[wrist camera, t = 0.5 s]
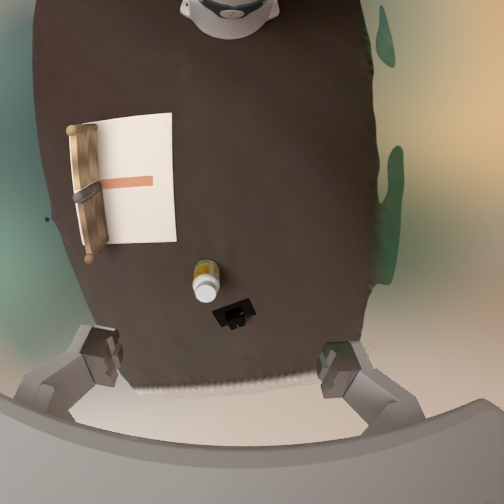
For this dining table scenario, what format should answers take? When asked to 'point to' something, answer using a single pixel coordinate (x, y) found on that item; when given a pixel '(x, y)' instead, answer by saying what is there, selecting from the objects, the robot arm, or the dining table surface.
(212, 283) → the supplement bottle
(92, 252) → the fixed fence section
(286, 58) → the dining table surface
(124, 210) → the card
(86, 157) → the folding fence section
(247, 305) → the black blocky piece
